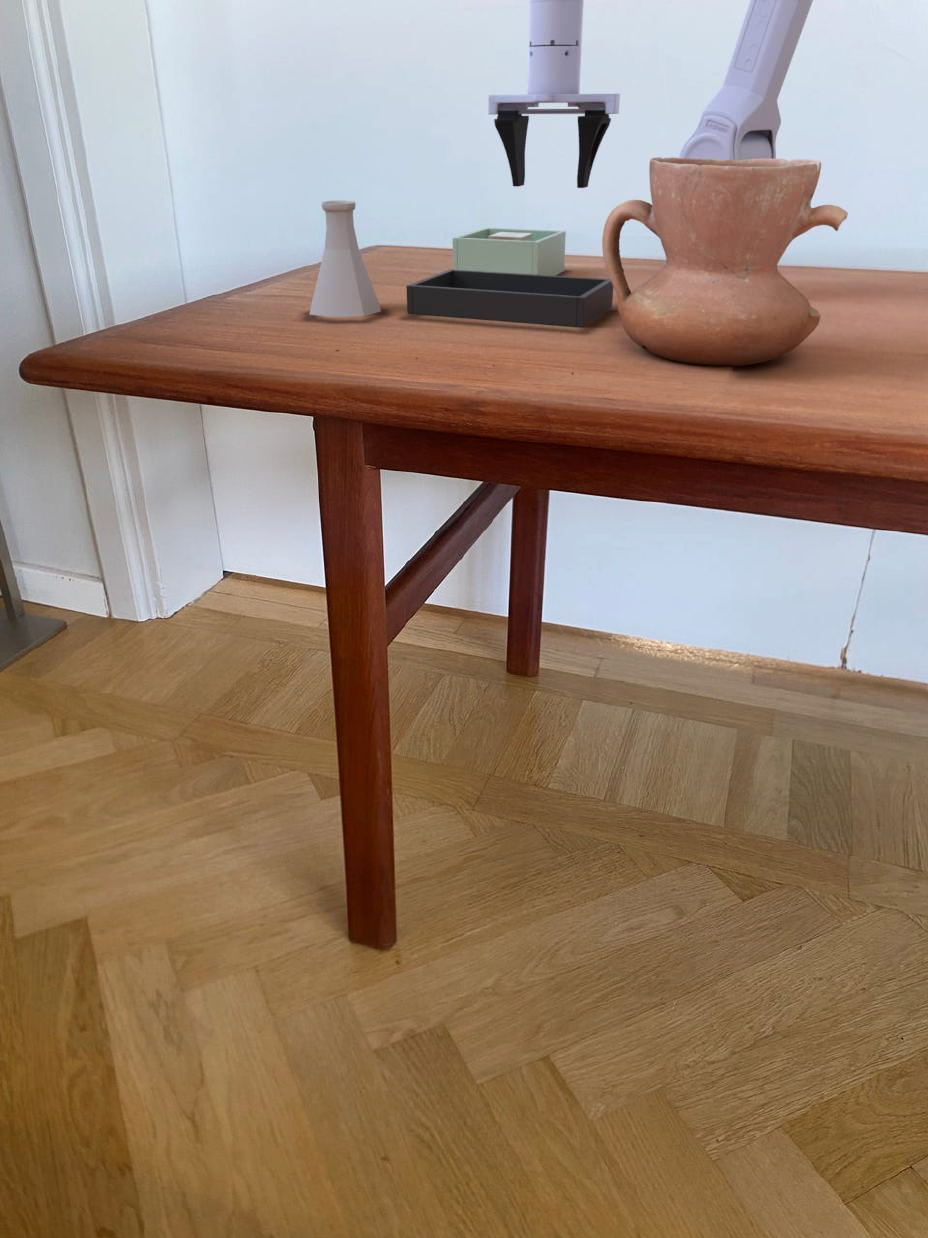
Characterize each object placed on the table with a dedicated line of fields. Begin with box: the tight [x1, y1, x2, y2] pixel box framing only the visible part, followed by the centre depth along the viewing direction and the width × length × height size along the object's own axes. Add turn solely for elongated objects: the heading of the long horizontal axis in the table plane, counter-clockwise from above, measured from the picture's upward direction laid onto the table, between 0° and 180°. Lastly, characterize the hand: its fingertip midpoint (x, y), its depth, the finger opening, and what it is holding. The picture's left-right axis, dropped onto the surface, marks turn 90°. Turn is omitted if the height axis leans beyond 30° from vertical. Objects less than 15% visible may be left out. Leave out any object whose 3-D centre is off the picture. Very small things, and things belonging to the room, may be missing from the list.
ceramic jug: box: [601, 156, 849, 367], centre depth 71 cm, size 18×14×14 cm
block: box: [488, 232, 532, 241], centre depth 108 cm, size 4×4×4 cm
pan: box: [405, 268, 614, 329], centre depth 88 cm, size 17×10×3 cm, turn 67°
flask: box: [309, 200, 382, 318], centre depth 87 cm, size 7×7×10 cm
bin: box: [452, 227, 567, 276], centre depth 108 cm, size 10×10×4 cm
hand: (550, 186), depth 106 cm, fingers open, 7 cm apart
